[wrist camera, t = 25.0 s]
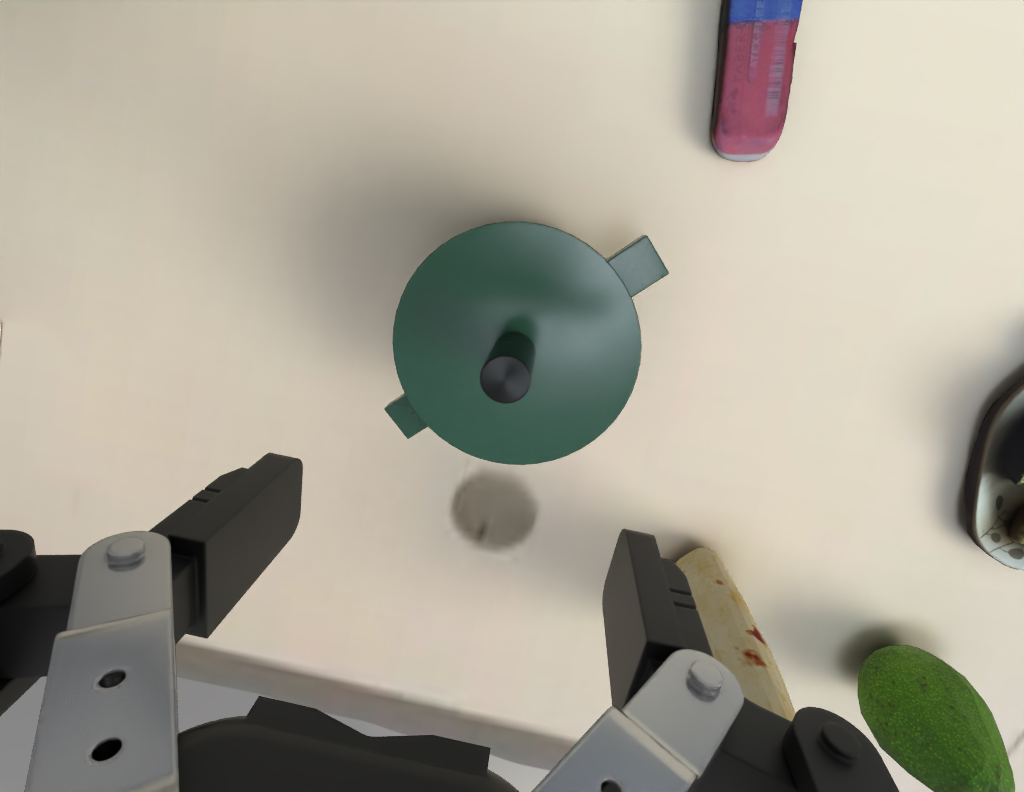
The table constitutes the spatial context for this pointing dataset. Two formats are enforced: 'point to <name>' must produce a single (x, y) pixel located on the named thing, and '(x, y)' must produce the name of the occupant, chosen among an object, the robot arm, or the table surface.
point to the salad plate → (999, 481)
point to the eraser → (753, 76)
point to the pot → (633, 267)
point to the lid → (517, 343)
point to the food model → (734, 632)
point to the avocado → (932, 722)
